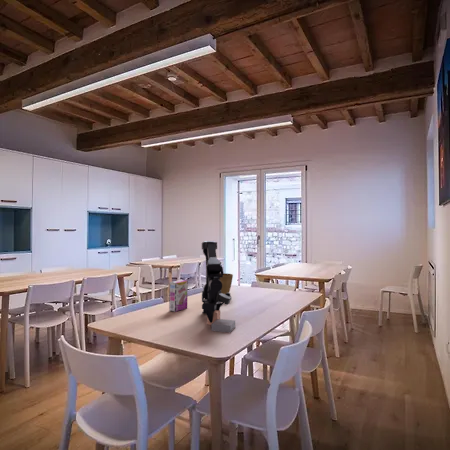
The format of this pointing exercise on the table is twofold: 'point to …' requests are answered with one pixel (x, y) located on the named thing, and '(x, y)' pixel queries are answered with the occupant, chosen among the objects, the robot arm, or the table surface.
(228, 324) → the plinth
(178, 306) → the candy bar box
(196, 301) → the table surface
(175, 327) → the table surface
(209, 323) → the cube
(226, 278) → the plant pot
